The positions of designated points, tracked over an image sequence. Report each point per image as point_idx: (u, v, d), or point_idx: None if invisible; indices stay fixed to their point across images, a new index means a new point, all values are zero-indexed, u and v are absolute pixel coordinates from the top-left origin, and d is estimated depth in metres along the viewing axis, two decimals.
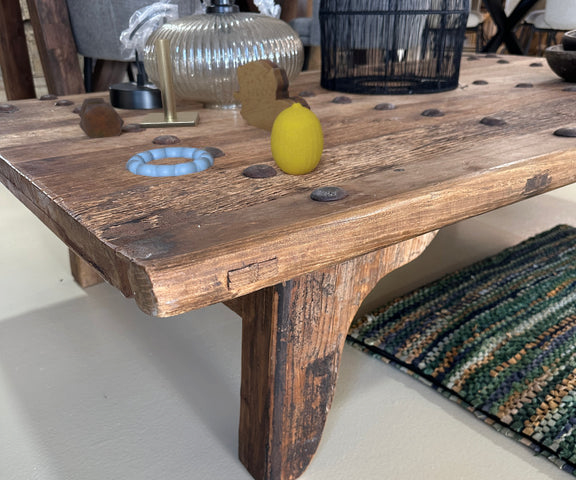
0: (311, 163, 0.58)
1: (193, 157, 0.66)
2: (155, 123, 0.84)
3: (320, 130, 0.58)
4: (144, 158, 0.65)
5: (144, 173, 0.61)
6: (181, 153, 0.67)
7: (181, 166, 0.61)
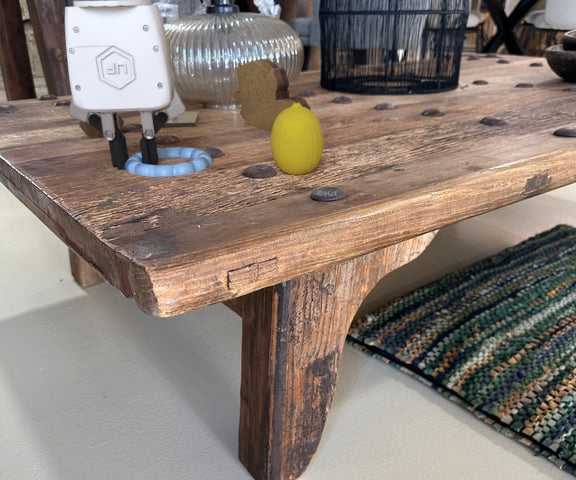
0: (310, 163, 0.58)
1: (192, 157, 0.66)
2: None
3: (320, 130, 0.58)
4: None
5: (142, 173, 0.61)
6: (180, 153, 0.67)
7: (179, 166, 0.61)
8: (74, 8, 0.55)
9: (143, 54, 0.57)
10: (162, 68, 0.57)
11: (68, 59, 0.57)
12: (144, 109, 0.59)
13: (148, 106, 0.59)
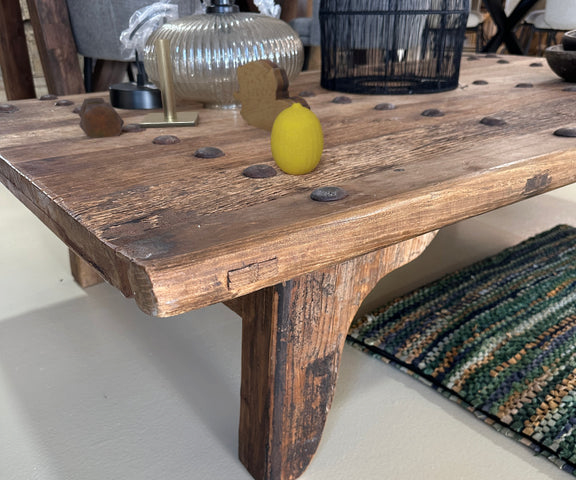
0: (311, 163, 0.58)
1: None
2: (155, 123, 0.84)
3: (320, 130, 0.58)
4: None
5: None
6: None
7: None
8: None
9: None
10: None
11: None
12: None
13: None
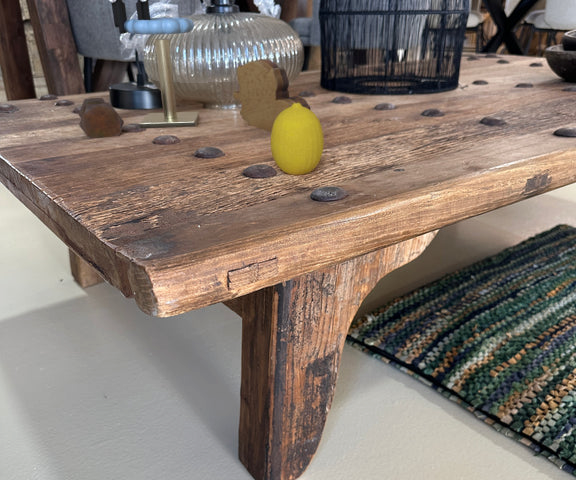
0: (311, 163, 0.58)
1: None
2: (155, 123, 0.84)
3: (320, 130, 0.58)
4: None
5: (138, 26, 0.77)
6: None
7: (167, 21, 0.77)
8: None
9: None
10: None
11: None
12: None
13: None
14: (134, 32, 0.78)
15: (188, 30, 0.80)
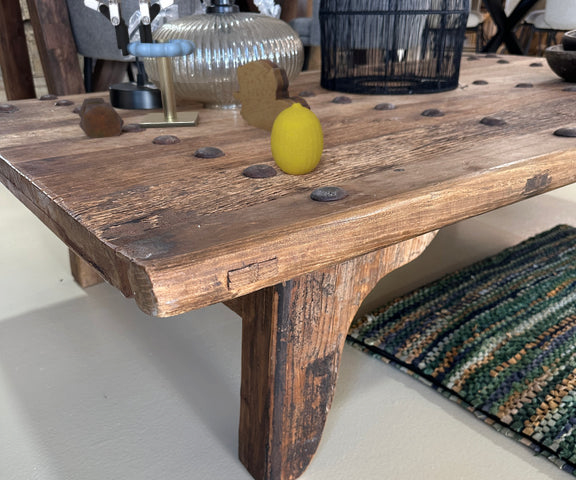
0: (310, 163, 0.58)
1: None
2: (155, 123, 0.84)
3: (320, 130, 0.58)
4: None
5: (141, 49, 0.79)
6: (170, 43, 0.85)
7: (169, 44, 0.79)
8: None
9: None
10: None
11: None
12: None
13: None
14: (137, 55, 0.80)
15: (190, 52, 0.82)
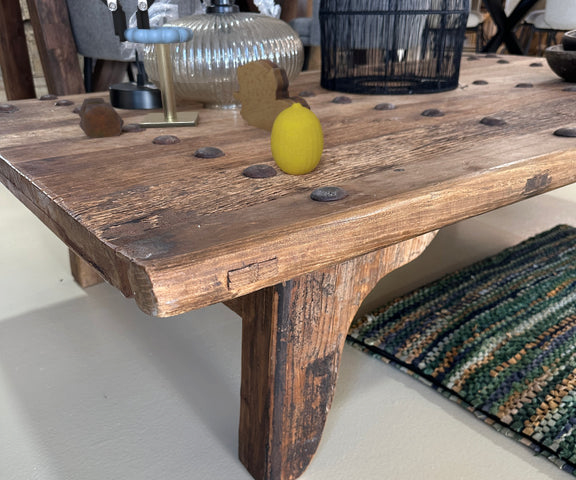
0: (311, 163, 0.58)
1: None
2: (155, 123, 0.84)
3: (320, 130, 0.58)
4: None
5: (138, 35, 0.78)
6: None
7: (167, 30, 0.78)
8: None
9: None
10: None
11: None
12: None
13: None
14: (134, 41, 0.79)
15: (188, 39, 0.81)
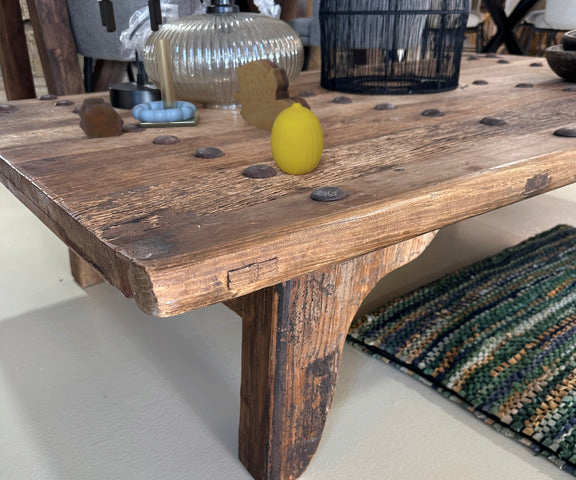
0: (311, 163, 0.58)
1: (181, 107, 0.88)
2: (155, 123, 0.84)
3: (320, 130, 0.58)
4: (144, 107, 0.87)
5: (144, 115, 0.83)
6: None
7: (171, 110, 0.83)
8: None
9: None
10: None
11: None
12: None
13: None
14: (140, 120, 0.84)
15: (191, 116, 0.86)
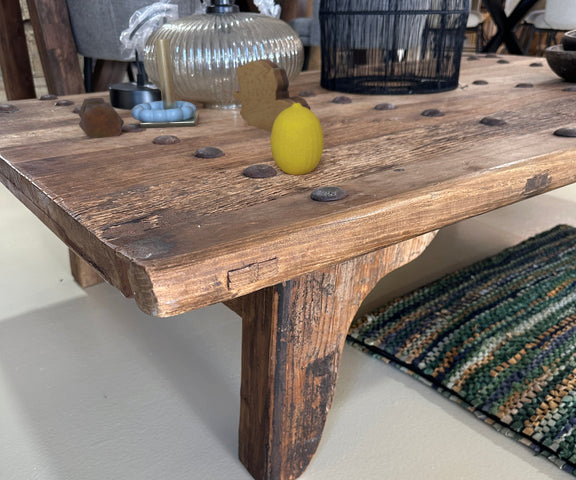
0: (311, 163, 0.58)
1: (181, 107, 0.88)
2: (155, 123, 0.84)
3: (320, 130, 0.58)
4: (144, 107, 0.87)
5: (144, 115, 0.83)
6: None
7: (171, 110, 0.83)
8: None
9: None
10: None
11: None
12: None
13: None
14: (140, 120, 0.84)
15: (191, 116, 0.86)
